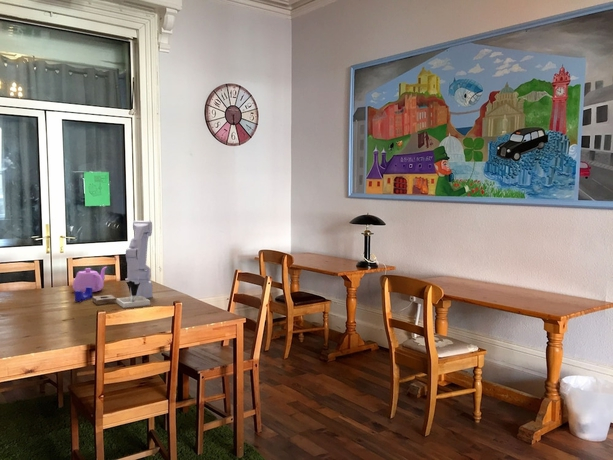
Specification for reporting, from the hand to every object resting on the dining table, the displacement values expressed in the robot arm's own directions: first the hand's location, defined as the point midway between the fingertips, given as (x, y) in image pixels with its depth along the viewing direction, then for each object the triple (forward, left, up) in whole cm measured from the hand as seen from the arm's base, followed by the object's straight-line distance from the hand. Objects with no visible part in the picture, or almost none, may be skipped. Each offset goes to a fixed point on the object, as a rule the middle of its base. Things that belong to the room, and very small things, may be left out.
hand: (133, 295), depth 290 cm
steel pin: (0, 0, -3) cm, 3 cm away
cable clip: (+21, -25, -5) cm, 33 cm away
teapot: (+11, -48, -5) cm, 50 cm away
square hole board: (+12, -13, -5) cm, 18 cm away
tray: (0, 0, -5) cm, 5 cm away
